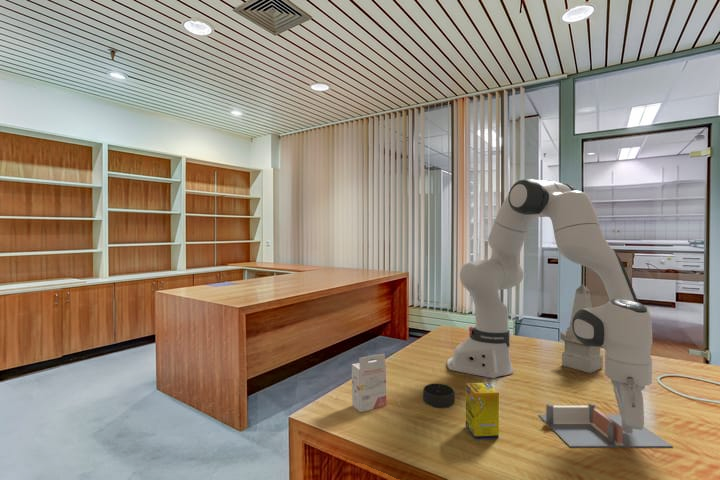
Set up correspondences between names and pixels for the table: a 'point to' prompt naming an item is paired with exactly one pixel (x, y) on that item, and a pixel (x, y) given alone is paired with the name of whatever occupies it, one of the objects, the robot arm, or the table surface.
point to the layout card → (603, 435)
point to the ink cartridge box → (369, 383)
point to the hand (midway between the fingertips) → (627, 430)
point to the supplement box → (482, 410)
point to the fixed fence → (575, 416)
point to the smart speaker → (438, 395)
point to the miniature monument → (576, 351)
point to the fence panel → (602, 423)
